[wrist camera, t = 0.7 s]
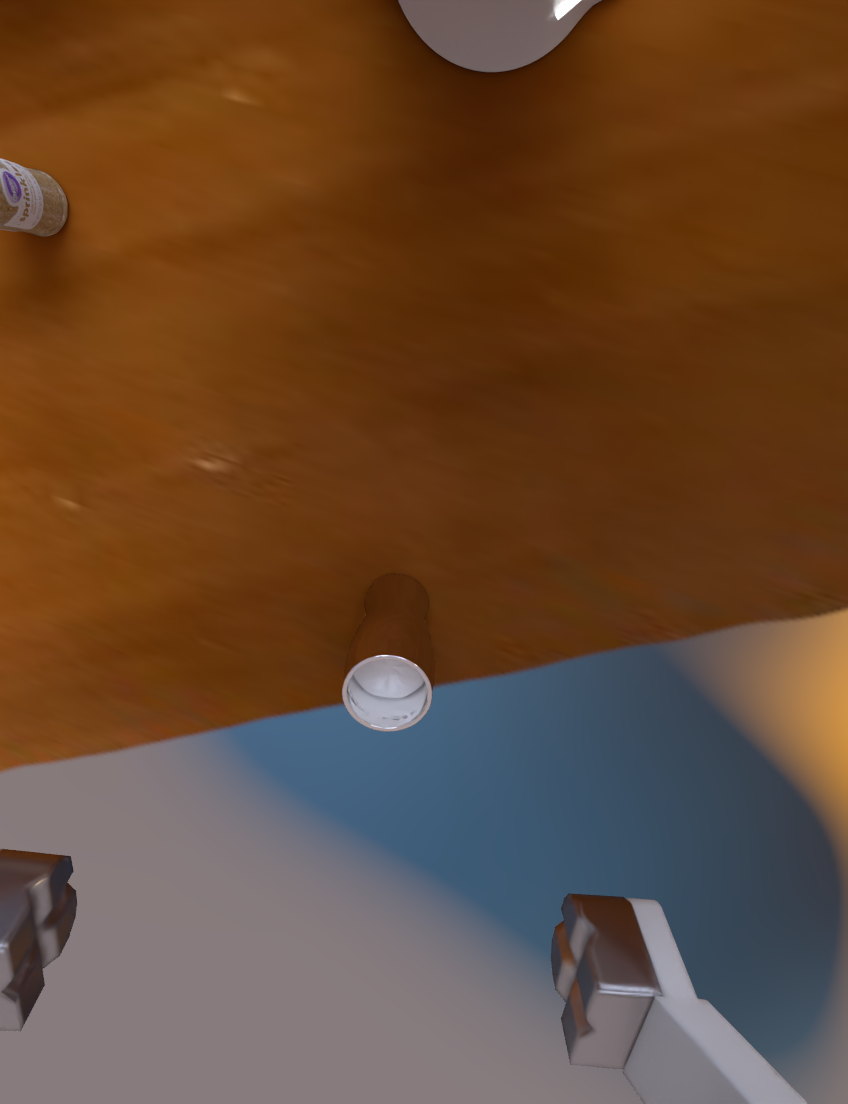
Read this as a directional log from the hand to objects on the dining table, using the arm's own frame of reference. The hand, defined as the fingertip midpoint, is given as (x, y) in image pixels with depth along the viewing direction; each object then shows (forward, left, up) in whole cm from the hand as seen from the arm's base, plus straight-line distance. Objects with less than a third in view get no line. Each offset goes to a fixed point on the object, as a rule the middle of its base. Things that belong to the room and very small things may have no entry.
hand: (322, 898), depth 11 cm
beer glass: (+18, +1, -47) cm, 50 cm away
